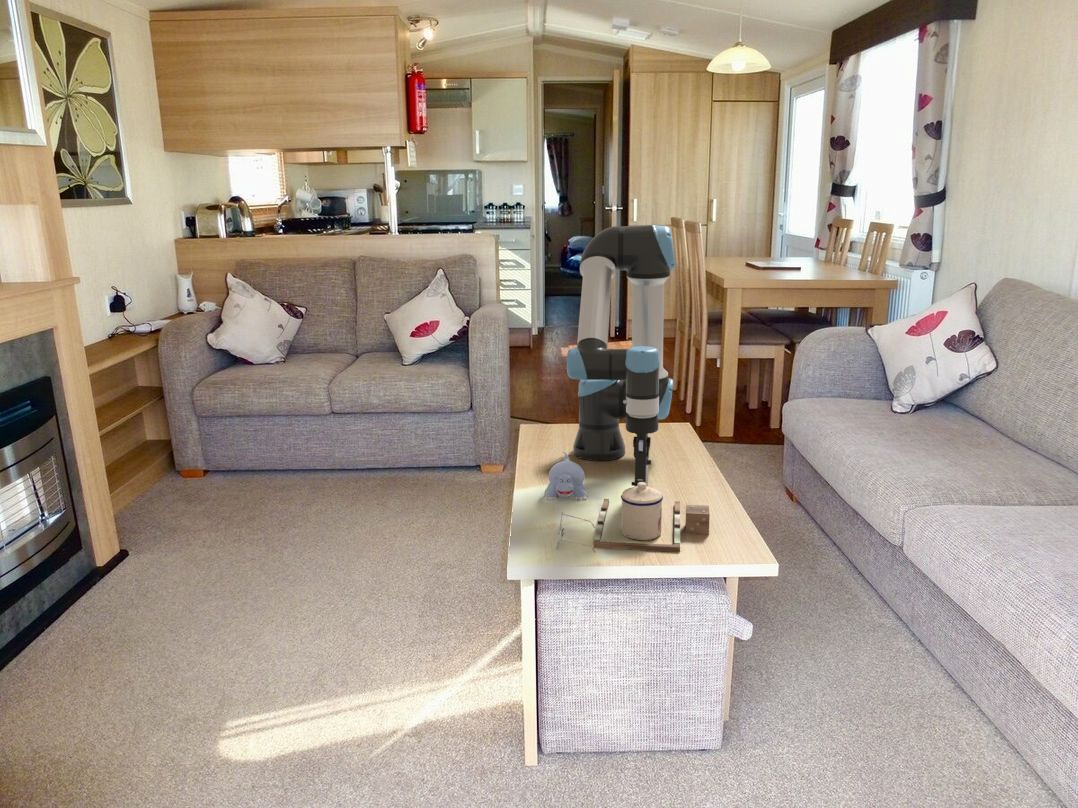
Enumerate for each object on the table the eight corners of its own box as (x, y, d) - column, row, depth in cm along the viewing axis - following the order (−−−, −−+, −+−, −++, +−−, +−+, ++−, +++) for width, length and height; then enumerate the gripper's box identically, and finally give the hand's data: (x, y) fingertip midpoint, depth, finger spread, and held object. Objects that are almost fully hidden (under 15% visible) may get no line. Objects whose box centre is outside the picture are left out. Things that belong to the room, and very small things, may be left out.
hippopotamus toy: (542, 508, 191) (541, 471, 189) (545, 487, 206) (544, 452, 203) (587, 508, 190) (587, 471, 188) (587, 486, 205) (586, 451, 203)
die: (685, 525, 179) (685, 504, 178) (708, 526, 178) (708, 505, 177) (685, 534, 174) (686, 513, 173) (708, 535, 174) (709, 513, 172)
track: (604, 502, 194) (604, 495, 193) (679, 505, 191) (679, 498, 190) (593, 547, 169) (593, 539, 168) (680, 551, 166) (680, 543, 165)
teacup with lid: (668, 538, 172) (669, 488, 169) (628, 543, 170) (628, 492, 167) (649, 517, 183) (650, 469, 180) (612, 521, 182) (611, 473, 179)
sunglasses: (558, 528, 180) (561, 508, 179) (595, 534, 180) (598, 514, 179) (555, 555, 167) (559, 533, 166) (595, 561, 167) (598, 539, 165)
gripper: (628, 401, 196) (628, 482, 201) (622, 428, 172) (622, 520, 177) (659, 401, 195) (658, 483, 200) (657, 429, 171) (656, 521, 176)
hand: (641, 501), depth 188 cm, fingers open, 13 cm apart
